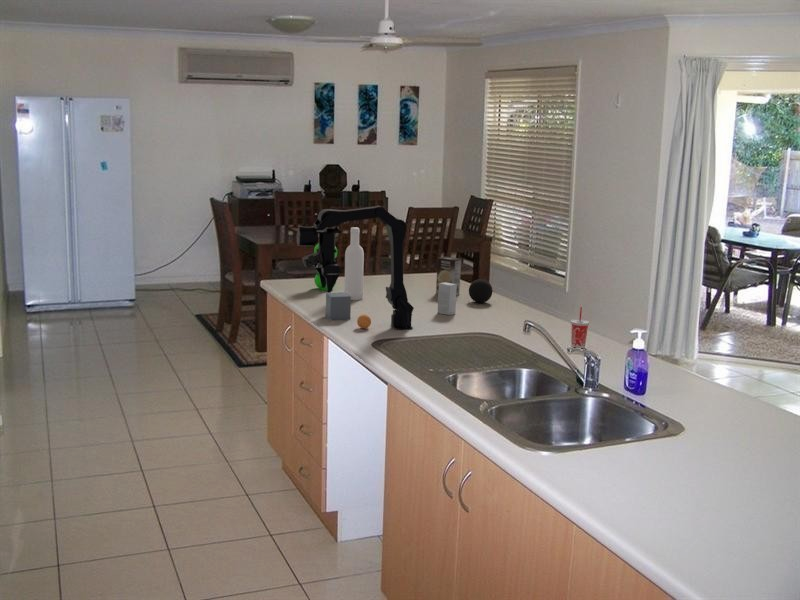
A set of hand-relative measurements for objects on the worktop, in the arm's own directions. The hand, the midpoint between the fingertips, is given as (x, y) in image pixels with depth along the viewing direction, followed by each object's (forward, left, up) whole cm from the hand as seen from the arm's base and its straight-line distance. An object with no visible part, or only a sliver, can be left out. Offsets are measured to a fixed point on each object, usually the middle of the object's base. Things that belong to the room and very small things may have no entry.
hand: (326, 290), depth 299 cm
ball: (-14, -1, -12) cm, 19 cm away
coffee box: (-68, -58, -15) cm, 91 cm away
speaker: (-75, -38, -15) cm, 86 cm away
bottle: (-24, -54, -15) cm, 61 cm away
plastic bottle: (-17, -77, -15) cm, 80 cm away
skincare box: (-53, -20, -15) cm, 59 cm away
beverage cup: (-79, +38, -15) cm, 89 cm away
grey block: (-9, -20, -15) cm, 27 cm away
